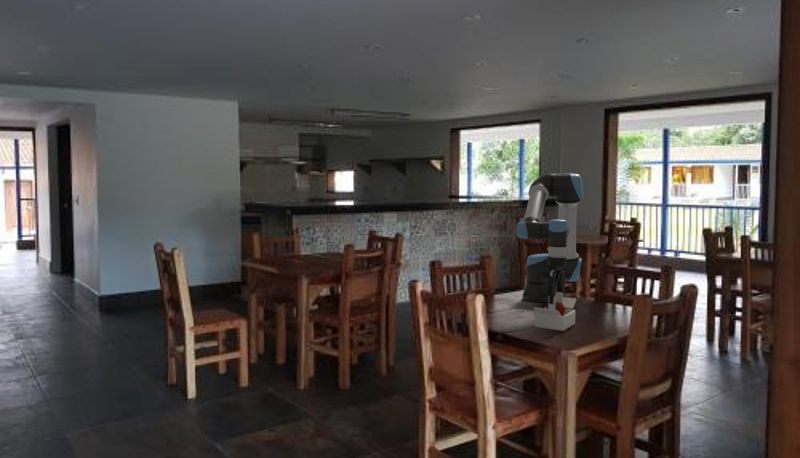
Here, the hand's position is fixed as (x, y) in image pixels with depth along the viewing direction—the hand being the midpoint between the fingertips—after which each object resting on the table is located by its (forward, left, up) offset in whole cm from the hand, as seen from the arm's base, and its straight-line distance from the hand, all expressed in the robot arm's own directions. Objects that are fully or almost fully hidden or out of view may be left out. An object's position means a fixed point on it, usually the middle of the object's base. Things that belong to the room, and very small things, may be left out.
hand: (555, 309), depth 267 cm
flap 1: (+11, 0, +1) cm, 11 cm away
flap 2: (-10, 0, +1) cm, 10 cm away
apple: (0, 0, -5) cm, 5 cm away
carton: (0, 0, -7) cm, 7 cm away
